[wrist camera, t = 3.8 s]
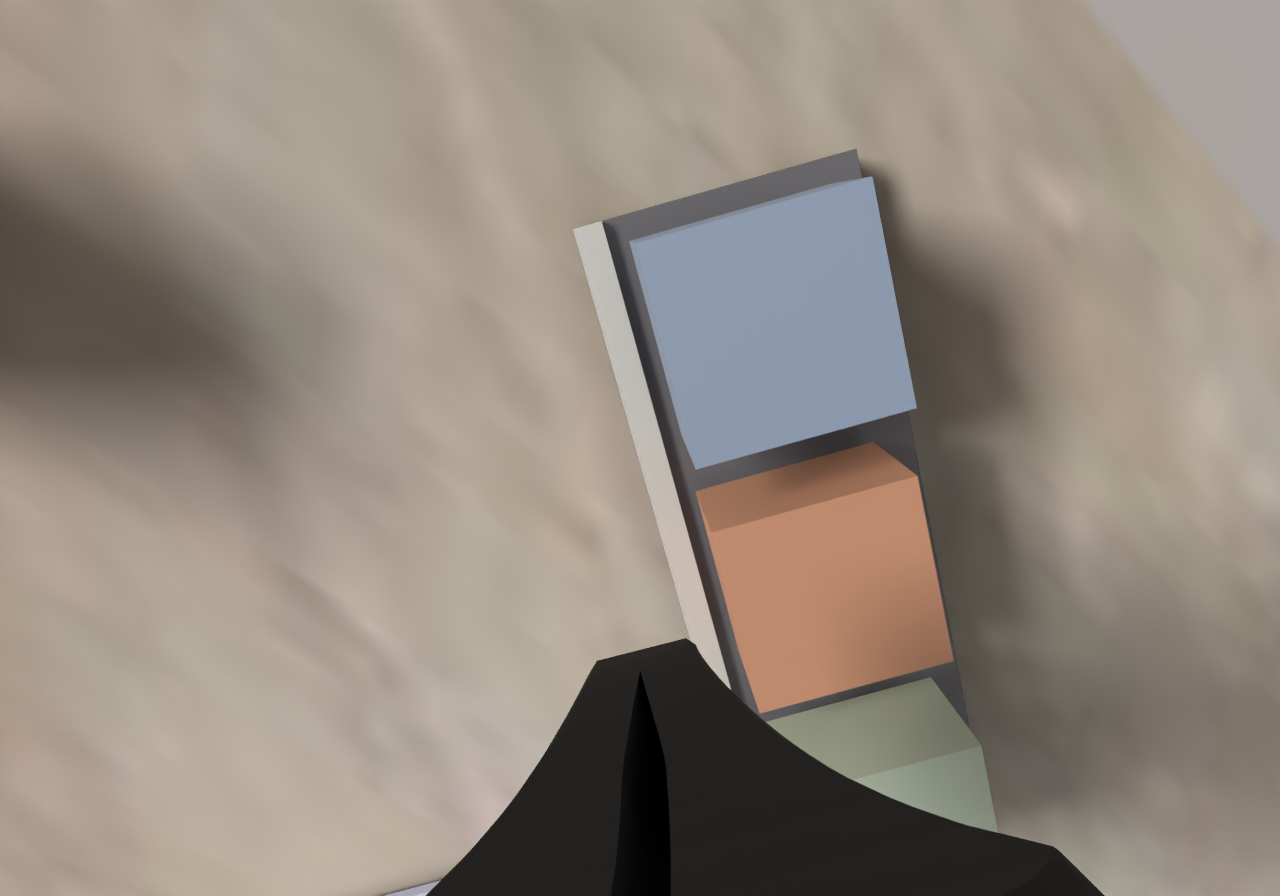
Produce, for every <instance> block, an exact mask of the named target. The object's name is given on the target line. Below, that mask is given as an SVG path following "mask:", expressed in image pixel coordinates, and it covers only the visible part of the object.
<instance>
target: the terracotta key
mask: <svg viewBox="0 0 1280 896" xmlns="http://www.w3.org/2000/svg"><path fill="white" fill-rule="evenodd" d="M696 495H697V499H698V502H699V506H700V510H701V514H702V517H703V521H704V525H705V528H706V532H707V536H708V539H709V543H710V547H711V551H712V554H713V558H714V562H715V565H716V569H717V573H718V576H719V580H720V584H721V588H722V591H723V595H724V599H725V602H726V606H727V610H728V614H729V617H730V621H731V625H732V628H733V632H734V636H735V639H736V643H737V647H738V651H739V654H740V657H741V660H742V663H743V665H744V668H745V671H746V674H747V677H748V680H749V683H750V686H751V689H752V692H753V695H754V698H755V701H756V704H757V707H758V710H759V713H764V712H767V711H771V710H775V709H778V708H782V707H786V706H790V705H793V704H797V703H801V702H804V701H808V700H812V699H815V698H819V697H823V696H826V695H830V694H834V693H837V692H841V691H845V690H849V689H852V688H856V687H860V686H863V685H867V684H871V683H874V682H878V681H882V680H885V679H889V678H893V677H896V676H900V675H904V674H908V673H911V672H915V671H919V670H922V669H926V668H930V667H933V666H937V665H941V664H944V663H948V662H952V661H954V660H953V655H952V650H951V645H950V640H949V634H948V629H947V624H946V619H945V614H944V609H943V604H942V599H941V594H940V589H939V583H938V578H937V573H936V568H935V563H934V558H933V553H932V548H931V543H930V537H929V532H928V527H927V522H926V517H925V512H924V507H923V502H922V497H921V492H920V486H919V481H918V476H917V475H916V474H914V473H913V472H912V471H910V470H909V469H908V468H907V467H905V466H904V465H903V464H901V463H900V462H899V461H898V460H896V459H895V458H894V457H892V456H891V455H890V454H888V453H887V452H886V451H885V450H883V449H882V448H881V447H879V446H878V445H877V444H876V443H874V442H871V443H868V444H864V445H860V446H857V447H853V448H850V449H846V450H842V451H839V452H835V453H832V454H828V455H824V456H821V457H817V458H814V459H810V460H806V461H803V462H799V463H796V464H792V465H788V466H785V467H781V468H777V469H774V470H770V471H767V472H763V473H759V474H756V475H752V476H749V477H745V478H741V479H738V480H734V481H731V482H727V483H723V484H720V485H716V486H713V487H709V488H705V489H702V490H698V491H696Z"/></svg>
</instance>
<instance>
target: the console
mask: <svg viewBox="0 0 1280 896" xmlns="http://www.w3.org/2000/svg"><path fill="white" fill-rule="evenodd" d="M860 178H862V175H861V170H860V165H859V160H858V155H857V149H854V150H850V151H847V152H843V153H840V154H836V155H833V156H829V157H826V158H822V159H819V160H815V161H812V162H808V163H805V164H801V165H798V166H794V167H791V168H787V169H784V170H780V171H777V172H773V173H769V174H766V175H762V176H759V177H755V178H752V179H748V180H745V181H741V182H738V183H734V184H731V185H727V186H724V187H720V188H717V189H713V190H710V191H706V192H703V193H699V194H696V195H692V196H689V197H685V198H682V199H678V200H675V201H671V202H668V203H664V204H660V205H657V206H653V207H650V208H646V209H643V210H639V211H636V212H632V213H629V214H625V215H622V216H618V217H615V218H611V219H608V220H604V221H600V222H597V223H593V224H590V225H586V226H583V227H579V228H576V229H573V231H574V234H575V238H576V241H577V245H578V248H579V252H580V255H581V259H582V262H583V266H584V269H585V273H586V276H587V280H588V283H589V287H590V290H591V294H592V297H593V301H594V304H595V308H596V311H597V315H598V318H599V322H600V325H601V329H602V332H603V336H604V339H605V343H606V346H607V350H608V353H609V357H610V360H611V364H612V367H613V371H614V374H615V378H616V381H617V385H618V388H619V392H620V395H621V399H622V402H623V406H624V409H625V413H626V416H627V420H628V423H629V427H630V430H631V434H632V437H633V441H634V444H635V448H636V451H637V455H638V458H639V462H640V465H641V469H642V472H643V476H644V479H645V483H646V486H647V490H648V493H649V497H650V500H651V504H652V507H653V511H654V514H655V518H656V521H657V525H658V528H659V532H660V535H661V539H662V542H663V546H664V549H665V553H666V556H667V560H668V563H669V567H670V570H671V574H672V577H673V581H674V584H675V588H676V591H677V595H678V598H679V602H680V605H681V609H682V612H683V616H684V619H685V623H686V626H687V630H688V633H689V637H690V640H691V642H693V643H694V644H696V646H697V649H698V650H699V652H700V654H701V655H702V657H703V658H704V660H705V661H706V662H707V664H708V665H709V666H710V668H711V669H712V670H713V671H714V672H715V673H716V675H717V676H718V677H719V678H720V679H721V680H722V681H723V682H724V683H725V685H726V686H727V687H728V688H729V689H730V690H731V691H732V692H733V693H734V694H735V695H737V696H738V697H739V698H740V699H741V700H742V701H743V702H744V703H745V704H746V705H747V706H748V707H749V708H750V709H751V710H752V711H753V712H755V713H756V714H757V715H758V716H759V717H760V718H761V719H763V720H764V721H765V722H767V721H771V720H775V719H778V718H782V717H786V716H789V715H793V714H797V713H800V712H804V711H808V710H811V709H815V708H819V707H823V706H826V705H830V704H834V703H837V702H841V701H845V700H848V699H852V698H856V697H859V696H863V695H867V694H871V693H874V692H878V691H882V690H885V689H889V688H893V687H896V686H900V685H904V684H907V683H911V682H915V681H918V680H922V679H926V678H930V677H931V678H932V679H933V681H934V682H935V683H936V685H937V686H938V688H939V689H940V690H941V692H942V693H943V694H944V696H945V697H946V698H947V700H948V701H949V702H950V704H951V705H952V706H953V708H954V709H955V710H956V712H957V713H958V714H959V716H960V717H961V718H962V720H963V721H964V722H965V724H966V725H967V726H968V728H969V724H968V719H967V714H966V708H965V703H964V698H963V693H962V688H961V683H960V678H959V672H958V667H957V662H956V657H955V652H954V647H953V642H952V637H951V631H950V626H949V621H948V616H947V611H946V606H945V601H944V596H943V590H942V585H941V580H940V575H939V570H938V565H937V560H936V555H935V549H934V544H933V539H932V534H931V529H930V524H929V519H928V514H927V508H926V503H925V498H924V493H923V488H922V483H921V478H920V472H919V467H918V462H917V457H916V452H915V447H914V442H913V437H912V431H911V426H910V421H909V416H908V411H905V412H902V413H898V414H894V415H891V416H887V417H884V418H880V419H876V420H873V421H869V422H866V423H862V424H858V425H855V426H851V427H848V428H844V429H840V430H837V431H833V432H830V433H826V434H822V435H819V436H815V437H812V438H808V439H804V440H801V441H797V442H794V443H790V444H786V445H783V446H779V447H776V448H772V449H768V450H765V451H761V452H758V453H754V454H750V455H747V456H743V457H740V458H736V459H732V460H729V461H725V462H722V463H718V464H714V465H711V466H707V467H704V468H700V469H695V467H694V464H693V462H692V459H691V457H690V455H689V452H688V450H687V447H686V445H685V442H684V440H683V438H682V435H681V432H680V428H679V424H678V420H677V417H676V413H675V409H674V406H673V402H672V398H671V395H670V391H669V387H668V383H667V380H666V376H665V372H664V369H663V365H662V361H661V357H660V354H659V350H658V346H657V343H656V339H655V335H654V331H653V328H652V324H651V320H650V317H649V313H648V309H647V306H646V302H645V298H644V294H643V291H642V287H641V283H640V280H639V276H638V272H637V268H636V265H635V261H634V257H633V254H632V250H631V246H630V242H629V241H631V240H634V239H638V238H641V237H645V236H648V235H652V234H656V233H659V232H663V231H666V230H670V229H673V228H677V227H680V226H684V225H687V224H691V223H694V222H698V221H701V220H705V219H708V218H712V217H715V216H719V215H723V214H726V213H730V212H733V211H737V210H740V209H744V208H747V207H751V206H754V205H758V204H761V203H765V202H768V201H772V200H775V199H779V198H782V197H786V196H789V195H793V194H797V193H800V192H804V191H807V190H811V189H814V188H818V187H821V186H825V185H828V184H833V183H838V182H844V181H849V180H854V179H860ZM871 442H874V443H876V444H877V445H878V446H879V447H881V448H882V449H883V450H885V451H886V452H887V453H888V454H890V455H891V456H892V457H894V458H895V459H896V460H898V461H899V462H900V463H901V464H903V465H904V466H905V467H907V468H908V469H909V470H910V471H912V472H913V473H914V474H916V475H917V476H918V481H919V486H920V492H921V497H922V502H923V507H924V512H925V517H926V522H927V527H928V532H929V537H930V543H931V548H932V553H933V558H934V563H935V568H936V573H937V578H938V583H939V589H940V594H941V599H942V604H943V609H944V614H945V619H946V624H947V629H948V634H949V640H950V645H951V650H952V655H953V660H954V661H952V662H948V663H944V664H941V665H937V666H933V667H930V668H926V669H922V670H919V671H915V672H911V673H908V674H904V675H900V676H896V677H893V678H889V679H885V680H882V681H878V682H874V683H871V684H867V685H863V686H860V687H856V688H852V689H849V690H845V691H841V692H837V693H834V694H830V695H826V696H823V697H819V698H815V699H812V700H808V701H804V702H801V703H797V704H793V705H790V706H786V707H782V708H778V709H775V710H771V711H767V712H764V713H759V710H758V707H757V704H756V701H755V698H754V695H753V692H752V689H751V686H750V683H749V680H748V677H747V674H746V671H745V668H744V665H743V663H742V660H741V657H740V654H739V651H738V647H737V643H736V639H735V636H734V632H733V628H732V625H731V621H730V617H729V614H728V610H727V606H726V602H725V599H724V595H723V591H722V588H721V584H720V580H719V576H718V573H717V569H716V565H715V562H714V558H713V554H712V551H711V547H710V543H709V539H708V536H707V532H706V528H705V525H704V521H703V517H702V514H701V510H700V506H699V502H698V499H697V495H696V491H698V490H702V489H705V488H709V487H713V486H716V485H720V484H723V483H727V482H731V481H734V480H738V479H741V478H745V477H749V476H752V475H756V474H759V473H763V472H767V471H770V470H774V469H777V468H781V467H785V466H788V465H792V464H796V463H799V462H803V461H806V460H810V459H814V458H817V457H821V456H824V455H828V454H832V453H835V452H839V451H842V450H846V449H850V448H853V447H857V446H860V445H864V444H868V443H871Z"/></svg>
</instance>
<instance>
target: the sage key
mask: <svg viewBox="0 0 1280 896" xmlns="http://www.w3.org/2000/svg"><path fill="white" fill-rule="evenodd" d="M766 723H768V724H769V725H770V726H771V727H772V728H774V729H775V730H776V731H777V732H779V733H780V734H781V735H782V736H784V737H785V738H787V739H788V740H789V741H791V742H792V743H793V744H795V745H796V746H798V747H799V748H800V749H802V750H803V751H805V752H806V753H808V754H809V755H811V756H812V757H814V758H816V759H817V760H819V761H820V762H822V763H823V764H825V765H827V766H828V767H830V768H831V769H833V770H835V771H837V772H839V773H840V774H842V775H844V776H846V777H847V778H849V779H852V780H854V781H856V782H858V783H860V784H862V785H864V786H866V787H869V788H871V789H873V790H875V791H877V792H879V793H881V794H883V795H886V796H888V797H890V798H893V799H895V800H897V801H900V802H902V803H905V804H907V805H910V806H912V807H915V808H918V809H921V810H924V811H927V812H929V813H932V814H935V815H938V816H941V817H944V818H947V819H950V820H952V821H955V822H959V823H962V824H965V825H968V826H972V827H976V828H980V829H984V830H989V831H993V832H997V833H998V828H997V823H996V818H995V813H994V808H993V802H992V797H991V792H990V787H989V782H988V776H987V771H986V766H985V761H984V755H983V750H982V745H981V744H980V743H979V741H978V740H977V739H976V737H975V736H974V735H973V733H972V732H971V731H970V729H969V728H968V726H967V725H966V724H965V722H964V721H963V720H962V718H961V717H960V716H959V714H958V713H957V712H956V710H955V709H954V708H953V706H952V705H951V704H950V702H949V701H948V700H947V698H946V697H945V696H944V694H943V693H942V692H941V690H940V689H939V688H938V686H937V685H936V683H935V682H934V681H933V679H932V678H931V677H930V678H926V679H922V680H918V681H915V682H911V683H907V684H904V685H900V686H896V687H893V688H889V689H885V690H882V691H878V692H874V693H871V694H867V695H863V696H859V697H856V698H852V699H848V700H845V701H841V702H837V703H834V704H830V705H826V706H823V707H819V708H815V709H811V710H808V711H804V712H800V713H797V714H793V715H789V716H786V717H782V718H778V719H775V720H771V721H767V722H766Z"/></svg>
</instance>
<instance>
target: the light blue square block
mask: <svg viewBox="0 0 1280 896" xmlns="http://www.w3.org/2000/svg"><path fill="white" fill-rule="evenodd" d="M629 242H630V246H631V250H632V254H633V257H634V261H635V265H636V268H637V272H638V276H639V280H640V283H641V287H642V291H643V294H644V298H645V302H646V306H647V309H648V313H649V317H650V320H651V324H652V328H653V331H654V335H655V339H656V343H657V346H658V350H659V354H660V357H661V361H662V365H663V369H664V372H665V376H666V380H667V383H668V387H669V391H670V395H671V398H672V402H673V406H674V409H675V413H676V417H677V420H678V424H679V428H680V432H681V435H682V438H683V440H684V442H685V445H686V447H687V450H688V452H689V455H690V457H691V459H692V462H693V464H694V467H695V469H700V468H704V467H707V466H711V465H714V464H718V463H722V462H725V461H729V460H732V459H736V458H740V457H743V456H747V455H750V454H754V453H758V452H761V451H765V450H768V449H772V448H776V447H779V446H783V445H786V444H790V443H794V442H797V441H801V440H804V439H808V438H812V437H815V436H819V435H822V434H826V433H830V432H833V431H837V430H840V429H844V428H848V427H851V426H855V425H858V424H862V423H866V422H869V421H873V420H876V419H880V418H884V417H887V416H891V415H894V414H898V413H902V412H905V411H909V410H912V409H916V408H917V406H916V401H915V396H914V391H913V385H912V380H911V375H910V370H909V364H908V359H907V354H906V349H905V344H904V338H903V333H902V328H901V323H900V318H899V312H898V307H897V302H896V297H895V291H894V286H893V281H892V276H891V271H890V265H889V260H888V255H887V250H886V245H885V239H884V234H883V229H882V224H881V218H880V213H879V208H878V203H877V198H876V192H875V187H874V182H873V177H872V176H871V177H865V178H860V179H854V180H849V181H844V182H838V183H833V184H828V185H825V186H821V187H818V188H814V189H811V190H807V191H804V192H800V193H797V194H793V195H789V196H786V197H782V198H779V199H775V200H772V201H768V202H765V203H761V204H758V205H754V206H751V207H747V208H744V209H740V210H737V211H733V212H730V213H726V214H723V215H719V216H715V217H712V218H708V219H705V220H701V221H698V222H694V223H691V224H687V225H684V226H680V227H677V228H673V229H670V230H666V231H663V232H659V233H656V234H652V235H648V236H645V237H641V238H638V239H634V240H631V241H629Z"/></svg>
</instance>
